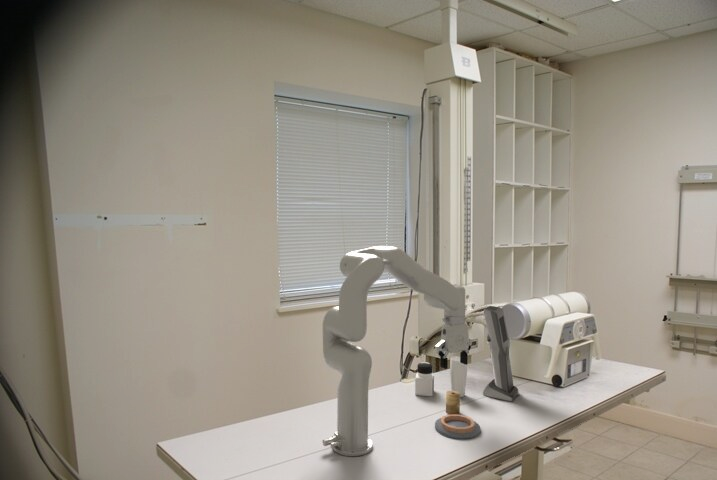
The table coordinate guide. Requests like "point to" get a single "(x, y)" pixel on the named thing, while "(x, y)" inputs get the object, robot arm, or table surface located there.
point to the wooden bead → (452, 402)
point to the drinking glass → (458, 375)
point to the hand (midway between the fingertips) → (453, 365)
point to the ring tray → (459, 424)
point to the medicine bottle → (424, 380)
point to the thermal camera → (499, 356)
